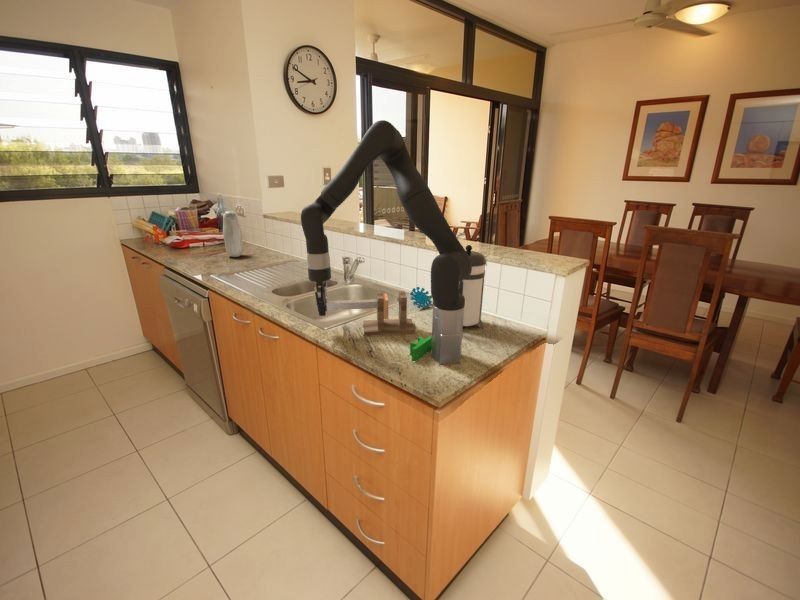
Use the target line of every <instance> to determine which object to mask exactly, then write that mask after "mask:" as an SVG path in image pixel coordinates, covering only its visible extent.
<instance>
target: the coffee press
mask: <svg viewBox="0 0 800 600" xmlns="http://www.w3.org/2000/svg"><path fill="white" fill-rule="evenodd" d="M472 249H473V247H472V245H471V244H467V245H466V246H465V251H466V252H467V254H468V255H469V257H470V260H471V263H472V271H471V274H470V275H469V277H467V278H466V279H464V280H462V281H460V282H459V293H460V294H462V295H463V296H464V298H465V306H464V318H463V327H472V326H474V325H476V327H478V328H479V329H483V327H484V323H483V321H482V312H483V298H484V297H483V296H484V286H485V276H486V270H485V268H486V267H487V266H488V263H487V259H486V256H485V255H484V254H483V253H482V252H479V251H474V250H472ZM479 323H480V324H479Z"/></svg>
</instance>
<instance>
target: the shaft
mask: <svg viewBox="0 0 800 600" xmlns="http://www.w3.org/2000/svg"><path fill="white" fill-rule="evenodd" d="M319 302H322V301H319ZM325 303H326V305H325V310H326V312H327V311H328V310H329V311H334V310H335V311H336V310H358V309H359V310H361V309H362V310H363V309H366V310H367V309H377V308H378V301H377V298H375V299H373V298H372V299H350V300H349V299H345V300H342V299H340V300H328V299H327V298H326V300H325ZM317 312H318V313H319V308H318V307H317Z"/></svg>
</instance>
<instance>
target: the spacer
mask: <svg viewBox="0 0 800 600" xmlns="http://www.w3.org/2000/svg"><path fill="white" fill-rule="evenodd" d="M383 298H384V320H389V297H388V294H387V293H383Z"/></svg>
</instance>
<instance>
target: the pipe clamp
mask: <svg viewBox="0 0 800 600" xmlns="http://www.w3.org/2000/svg"><path fill="white" fill-rule="evenodd" d="M409 343H410V344H409V355H410V356H411V362H413V361H416V360H417V361H419V360H420V359H422V358H423V357H424V356H425V355H427V354H428V353H429V352H431V346H432V335H429V336H427V338H424V337H422V336H418V337H417V341H415V342H414V341H410V342H409ZM427 352H428V353H427ZM419 358H420V359H419ZM418 359H419V360H418ZM417 361H416V362H417Z"/></svg>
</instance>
